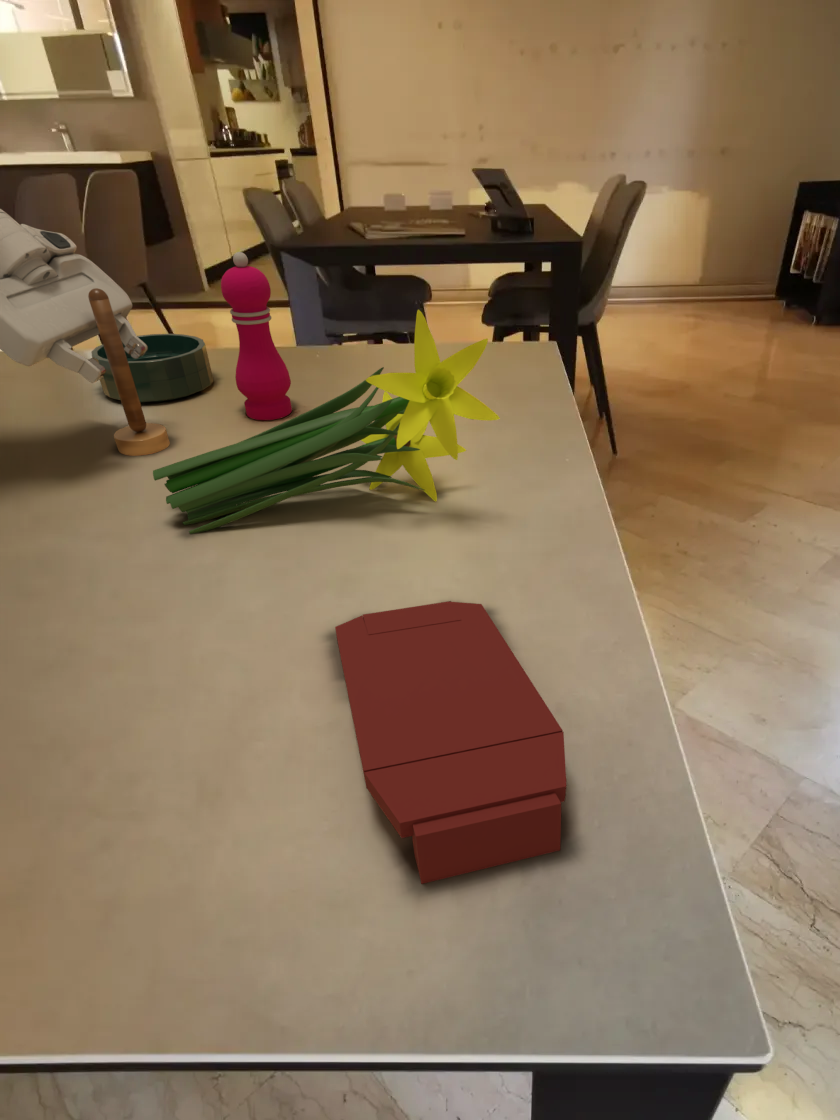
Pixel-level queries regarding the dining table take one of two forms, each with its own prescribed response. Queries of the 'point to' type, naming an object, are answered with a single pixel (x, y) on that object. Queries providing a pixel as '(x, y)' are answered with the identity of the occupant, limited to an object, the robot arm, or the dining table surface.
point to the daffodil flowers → (337, 441)
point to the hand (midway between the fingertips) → (122, 365)
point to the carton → (453, 737)
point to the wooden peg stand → (125, 386)
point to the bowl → (162, 368)
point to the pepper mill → (256, 343)
